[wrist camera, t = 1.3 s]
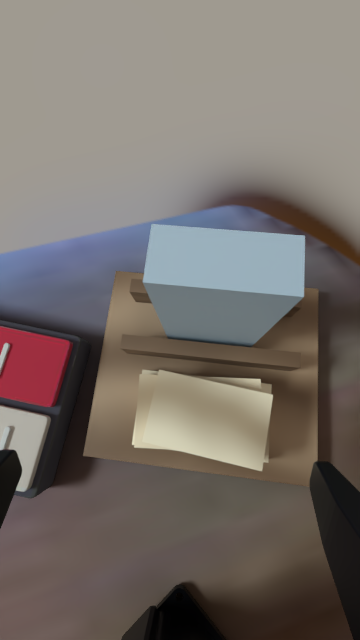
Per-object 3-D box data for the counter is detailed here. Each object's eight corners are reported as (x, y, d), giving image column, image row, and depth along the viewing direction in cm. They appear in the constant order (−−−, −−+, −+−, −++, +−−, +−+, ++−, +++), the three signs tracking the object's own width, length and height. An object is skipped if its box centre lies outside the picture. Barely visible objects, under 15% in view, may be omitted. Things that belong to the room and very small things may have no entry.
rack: (310, 482, 22) (333, 499, 18) (88, 452, 23) (69, 462, 19) (312, 294, 25) (331, 276, 21) (119, 276, 26) (107, 257, 23)
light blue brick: (248, 349, 23) (304, 297, 11) (169, 340, 23) (142, 282, 12) (250, 316, 23) (304, 235, 12) (172, 309, 24) (151, 224, 12)
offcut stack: (264, 462, 21) (277, 473, 18) (134, 444, 22) (123, 452, 18) (268, 382, 22) (280, 379, 19) (145, 368, 23) (137, 363, 20)
